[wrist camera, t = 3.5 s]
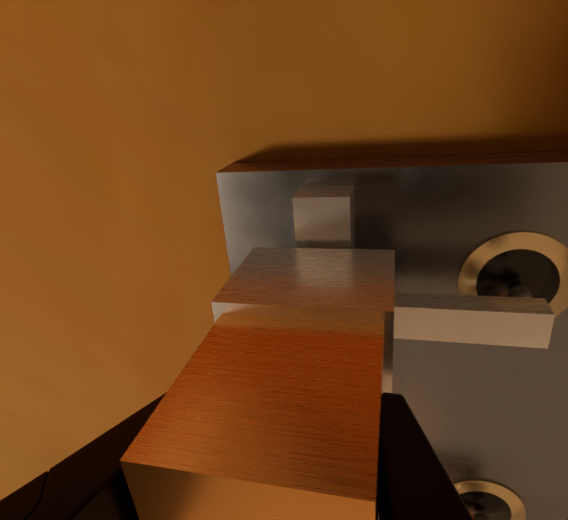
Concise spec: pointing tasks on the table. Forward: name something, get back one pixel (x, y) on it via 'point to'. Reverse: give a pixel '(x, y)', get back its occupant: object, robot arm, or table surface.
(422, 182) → the bolt plate
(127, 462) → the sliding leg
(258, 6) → the table surface
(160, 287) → the table surface
